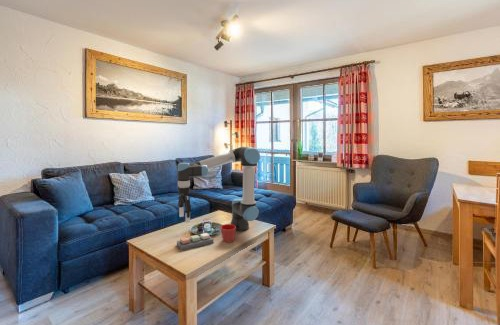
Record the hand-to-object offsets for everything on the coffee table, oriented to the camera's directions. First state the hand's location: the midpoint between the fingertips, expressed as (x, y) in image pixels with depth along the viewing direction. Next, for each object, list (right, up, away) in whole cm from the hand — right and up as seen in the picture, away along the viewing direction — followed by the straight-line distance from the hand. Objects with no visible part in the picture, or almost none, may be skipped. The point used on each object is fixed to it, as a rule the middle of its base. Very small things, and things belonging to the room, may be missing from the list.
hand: (184, 219), depth 168 cm
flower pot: (+28, -17, +13) cm, 35 cm away
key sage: (+6, -15, +5) cm, 17 cm away
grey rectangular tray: (+6, -18, +6) cm, 20 cm away
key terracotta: (0, -15, +2) cm, 15 cm away
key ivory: (+12, -15, +9) cm, 21 cm away
